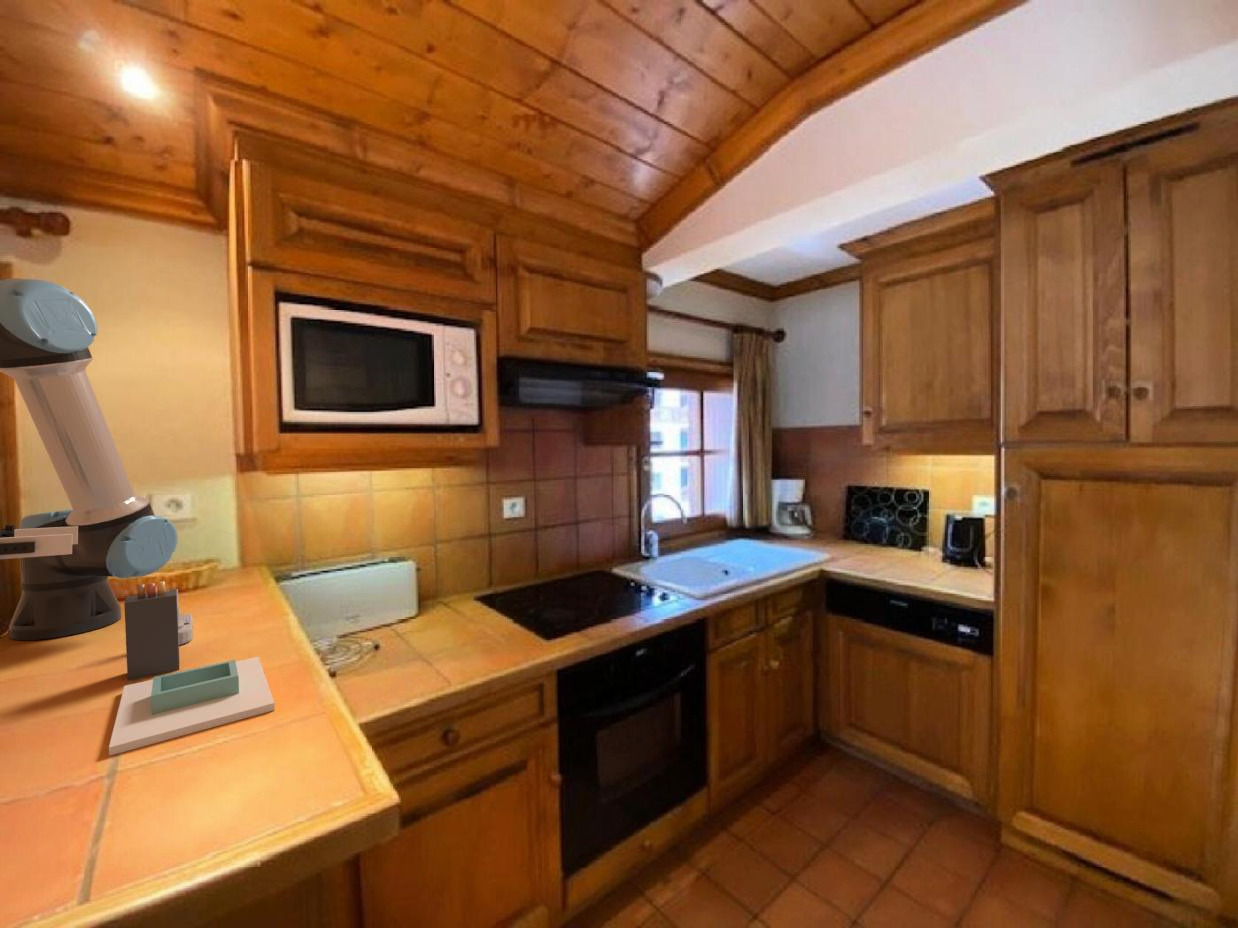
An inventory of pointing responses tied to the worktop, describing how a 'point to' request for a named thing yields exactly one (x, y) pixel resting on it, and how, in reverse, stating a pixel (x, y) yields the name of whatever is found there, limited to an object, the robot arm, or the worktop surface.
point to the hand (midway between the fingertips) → (75, 539)
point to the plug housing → (151, 632)
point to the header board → (189, 703)
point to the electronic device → (184, 625)
